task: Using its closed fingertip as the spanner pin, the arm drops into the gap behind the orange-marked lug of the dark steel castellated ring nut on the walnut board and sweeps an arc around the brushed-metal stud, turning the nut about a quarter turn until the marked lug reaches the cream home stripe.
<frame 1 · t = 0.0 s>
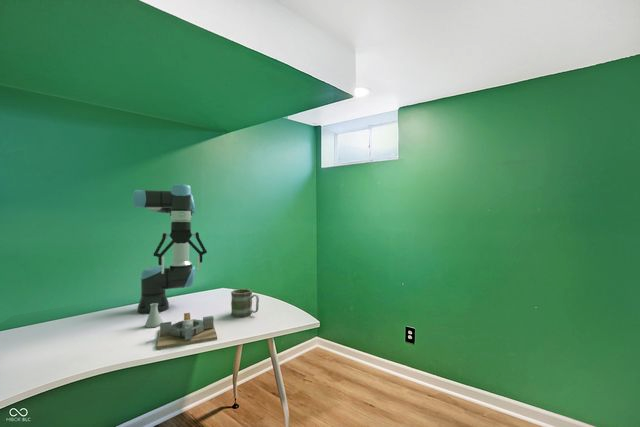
hand: (181, 271, 125), 28 cm above the table, fingers open, 13 cm apart
ring nut: (187, 325, 129), point 4 cm above the table, hinge at 0.0°
board: (187, 334, 129), on the table
flask: (154, 325, 140), on the table
mug: (245, 315, 155), on the table
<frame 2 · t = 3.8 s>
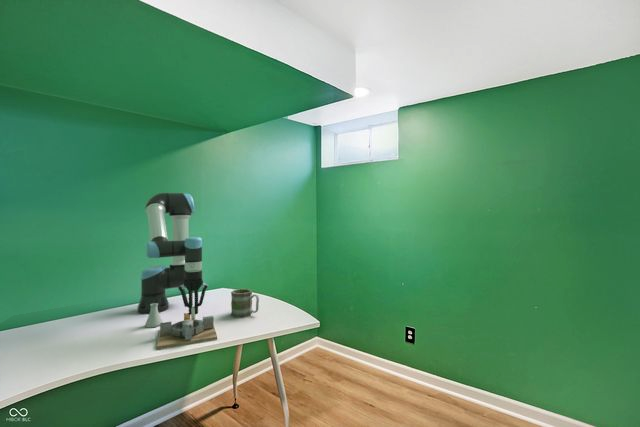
hand: (193, 321, 139), 2 cm above the table, fingers closed
ring nut: (187, 325, 129), point 4 cm above the table, hinge at 0.0°, touching gripper
everything else where it was.
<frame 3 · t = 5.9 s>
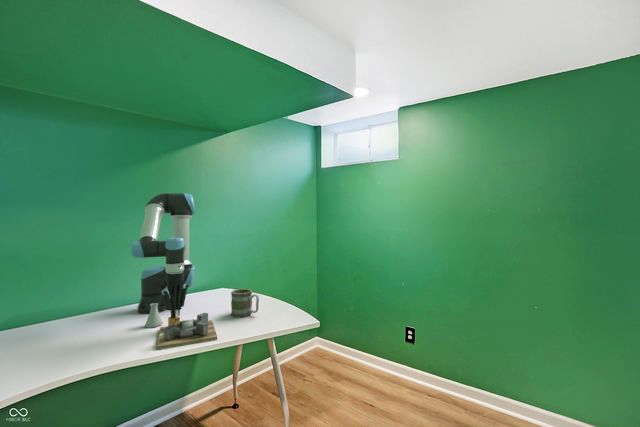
hand: (175, 324, 135), 3 cm above the table, fingers closed
ring nut: (187, 325, 129), point 4 cm above the table, hinge at 40.0°, touching gripper
everything else where it was.
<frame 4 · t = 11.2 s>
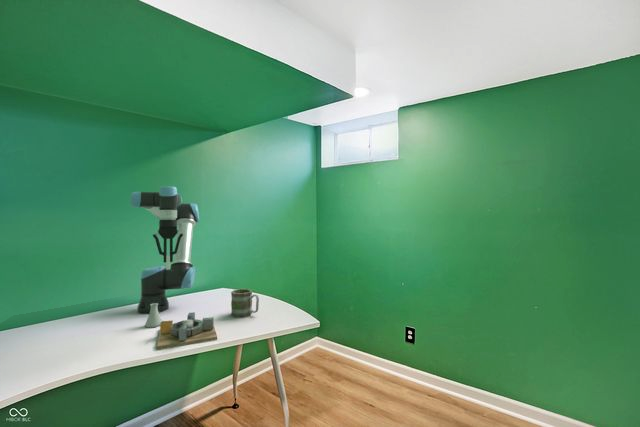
hand: (168, 269, 140), 26 cm above the table, fingers closed
ring nut: (187, 325, 129), point 4 cm above the table, hinge at 78.1°
everything else where it was.
at the end: ring nut at +78° (first picture: +0°); ring nut touching nothing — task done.
